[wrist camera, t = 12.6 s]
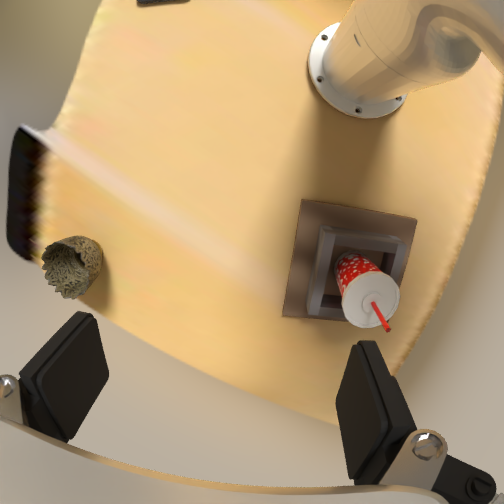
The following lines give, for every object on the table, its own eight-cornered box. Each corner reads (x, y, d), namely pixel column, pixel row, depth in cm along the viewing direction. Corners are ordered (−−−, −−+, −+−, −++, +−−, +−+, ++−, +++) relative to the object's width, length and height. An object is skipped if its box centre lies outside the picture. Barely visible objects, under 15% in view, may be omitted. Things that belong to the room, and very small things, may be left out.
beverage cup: (336, 239, 36) (370, 292, 23) (380, 250, 36) (430, 304, 23) (321, 285, 38) (343, 354, 25) (365, 294, 38) (402, 360, 25)
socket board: (301, 199, 36) (305, 206, 31) (414, 218, 35) (429, 227, 31) (282, 311, 41) (283, 330, 36) (385, 320, 40) (395, 338, 36)
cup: (86, 280, 41) (58, 305, 34) (66, 235, 39) (32, 253, 31) (124, 266, 40) (97, 291, 32) (102, 217, 38) (69, 234, 30)
